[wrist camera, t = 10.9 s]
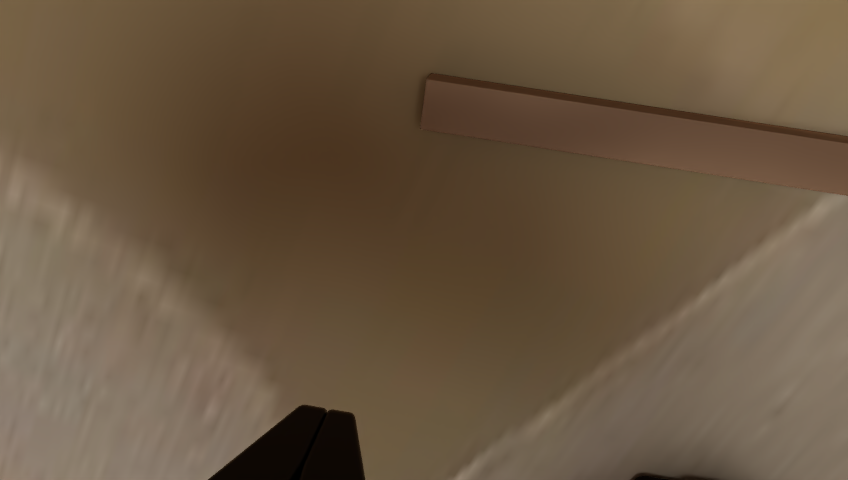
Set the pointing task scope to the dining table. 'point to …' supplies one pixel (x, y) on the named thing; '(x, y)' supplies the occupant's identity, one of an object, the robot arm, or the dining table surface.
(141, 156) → the dining table surface
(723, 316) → the dining table surface
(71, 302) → the dining table surface
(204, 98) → the dining table surface
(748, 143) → the lane
